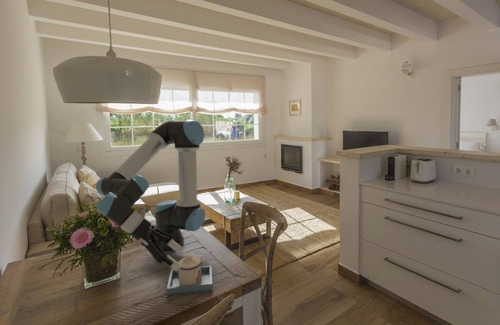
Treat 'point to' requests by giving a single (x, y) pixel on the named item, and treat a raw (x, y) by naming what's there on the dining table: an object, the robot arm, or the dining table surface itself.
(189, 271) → the teacup with lid
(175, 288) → the slate tray
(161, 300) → the dining table surface
